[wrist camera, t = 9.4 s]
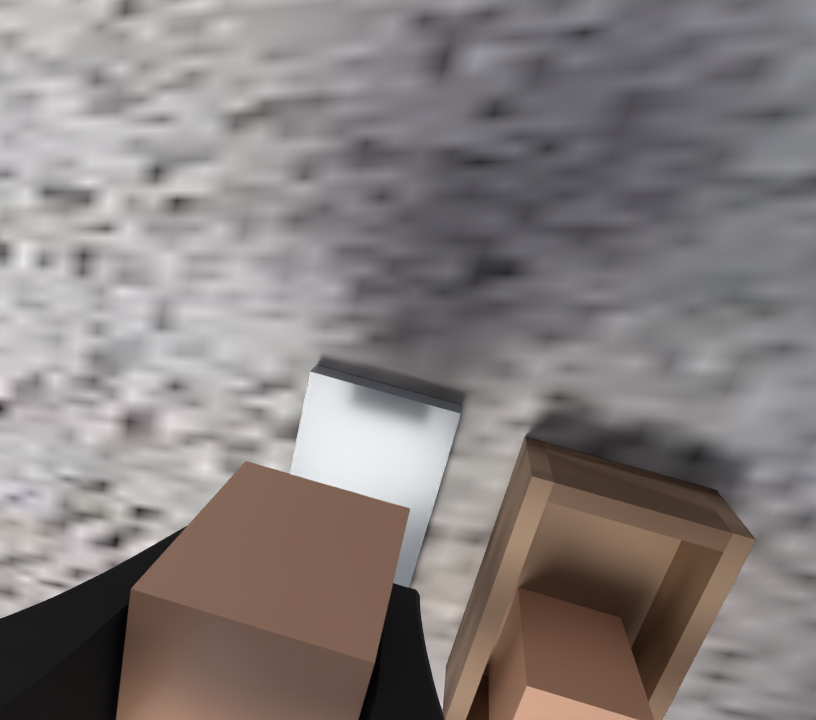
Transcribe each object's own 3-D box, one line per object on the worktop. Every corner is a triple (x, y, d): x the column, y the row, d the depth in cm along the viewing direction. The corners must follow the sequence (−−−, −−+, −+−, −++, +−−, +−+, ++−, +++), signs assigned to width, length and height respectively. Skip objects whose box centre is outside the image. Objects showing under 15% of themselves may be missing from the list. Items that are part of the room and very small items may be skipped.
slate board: (386, 657, 24) (383, 673, 23) (264, 620, 24) (257, 634, 23) (461, 405, 20) (461, 413, 19) (316, 364, 20) (310, 371, 20)
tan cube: (372, 642, 14) (324, 837, 10) (222, 597, 14) (110, 768, 10) (410, 508, 13) (374, 662, 9) (245, 461, 13) (130, 589, 9)
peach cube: (585, 695, 22) (609, 814, 18) (488, 666, 23) (489, 776, 18) (620, 617, 21) (655, 725, 17) (517, 587, 21) (526, 685, 17)
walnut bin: (609, 715, 23) (626, 788, 20) (446, 666, 24) (441, 731, 21) (716, 490, 20) (756, 539, 17) (525, 436, 20) (531, 476, 17)
